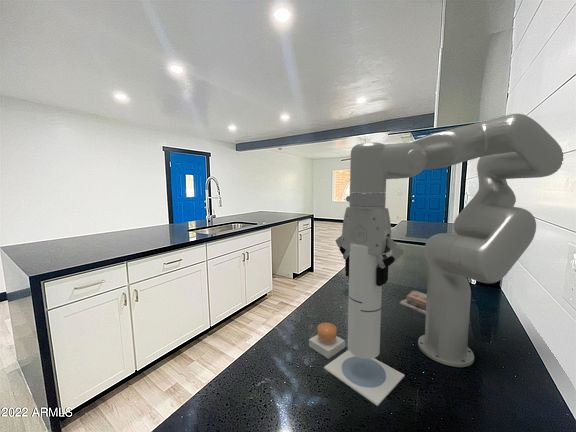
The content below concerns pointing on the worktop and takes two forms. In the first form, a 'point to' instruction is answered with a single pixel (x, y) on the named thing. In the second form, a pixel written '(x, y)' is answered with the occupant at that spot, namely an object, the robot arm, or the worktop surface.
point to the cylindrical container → (363, 304)
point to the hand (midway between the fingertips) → (365, 279)
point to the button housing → (327, 345)
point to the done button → (327, 331)
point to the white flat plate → (365, 376)
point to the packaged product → (415, 301)
